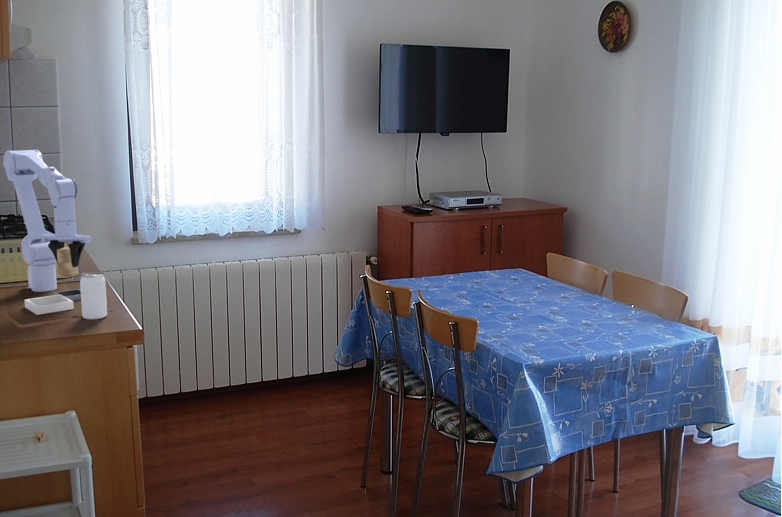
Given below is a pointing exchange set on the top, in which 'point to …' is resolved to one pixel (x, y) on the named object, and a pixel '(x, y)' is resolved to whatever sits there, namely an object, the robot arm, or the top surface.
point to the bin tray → (48, 304)
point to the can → (93, 296)
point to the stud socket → (70, 294)
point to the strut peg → (66, 263)
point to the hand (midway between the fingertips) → (68, 266)
